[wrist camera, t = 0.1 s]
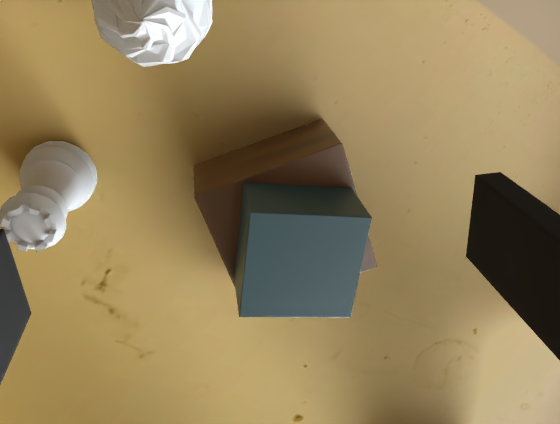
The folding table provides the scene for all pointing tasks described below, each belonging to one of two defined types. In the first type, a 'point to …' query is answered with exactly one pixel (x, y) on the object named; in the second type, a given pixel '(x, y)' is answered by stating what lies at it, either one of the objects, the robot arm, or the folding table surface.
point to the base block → (269, 179)
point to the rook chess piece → (47, 194)
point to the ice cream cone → (153, 28)
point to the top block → (299, 250)
